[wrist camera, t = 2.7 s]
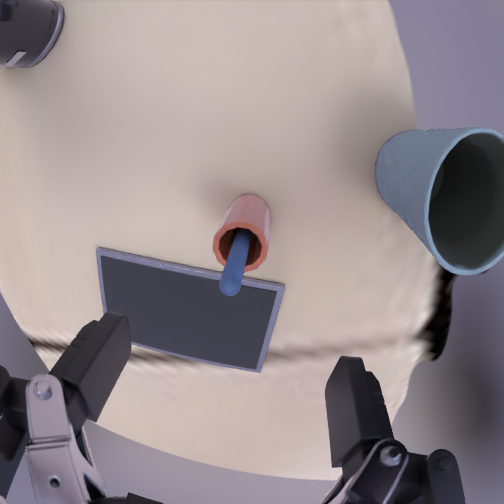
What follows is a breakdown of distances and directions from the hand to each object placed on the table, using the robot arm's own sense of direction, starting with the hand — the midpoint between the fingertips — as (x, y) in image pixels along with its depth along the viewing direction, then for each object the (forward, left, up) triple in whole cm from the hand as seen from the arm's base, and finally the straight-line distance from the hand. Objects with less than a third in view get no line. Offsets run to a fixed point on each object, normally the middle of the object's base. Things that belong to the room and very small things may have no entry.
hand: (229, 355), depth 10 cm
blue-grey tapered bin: (+14, +7, -20) cm, 25 cm away
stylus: (-1, -1, -19) cm, 19 cm away
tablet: (-7, -15, -19) cm, 25 cm away
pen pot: (-1, -1, -19) cm, 19 cm away
